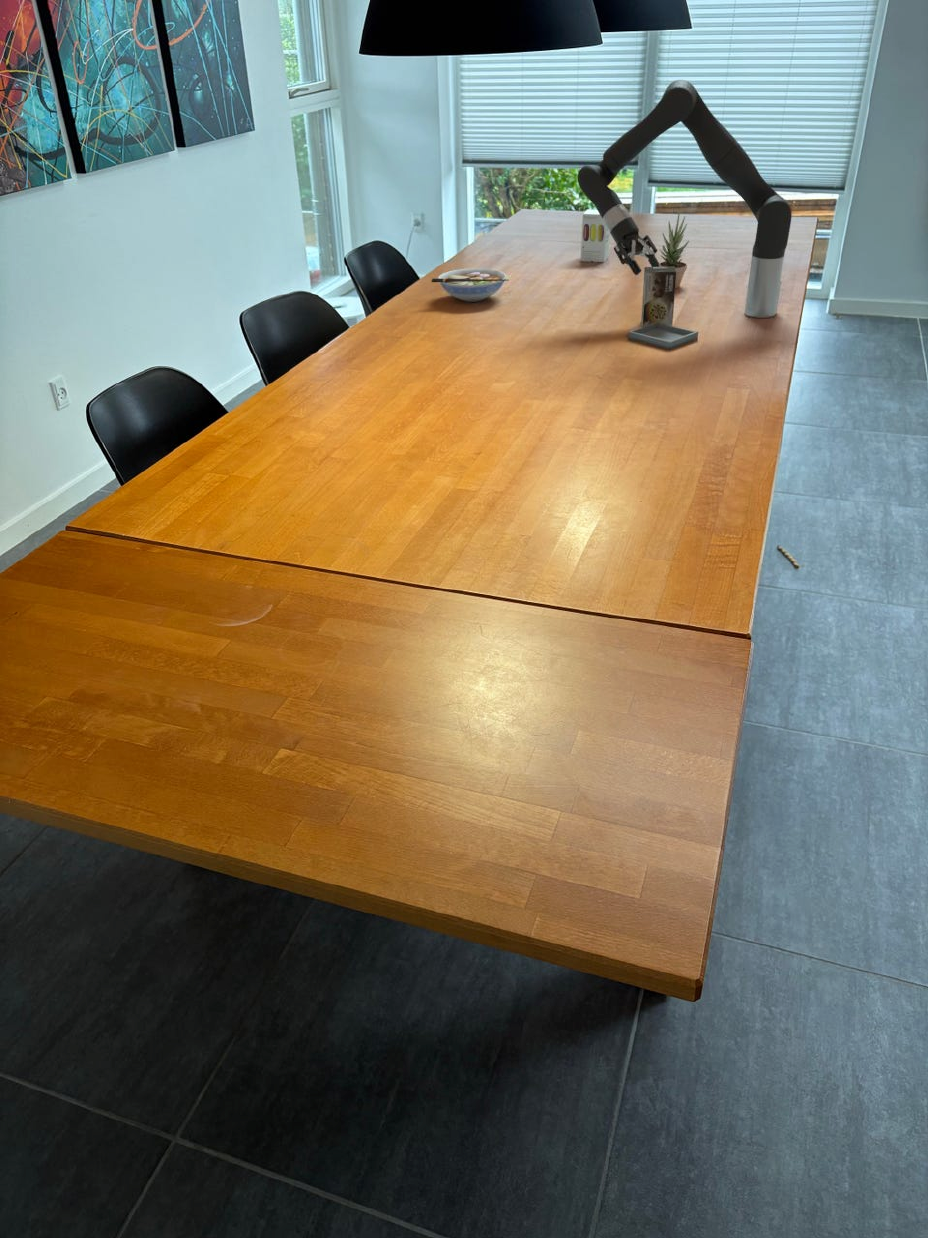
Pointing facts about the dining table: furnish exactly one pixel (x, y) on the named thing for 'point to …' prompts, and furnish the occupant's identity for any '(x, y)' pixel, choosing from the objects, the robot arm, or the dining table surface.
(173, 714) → the dining table surface
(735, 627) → the dining table surface
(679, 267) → the potted plant
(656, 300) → the coffee box
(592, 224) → the supplement box
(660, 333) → the tray
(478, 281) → the ramen bowl
